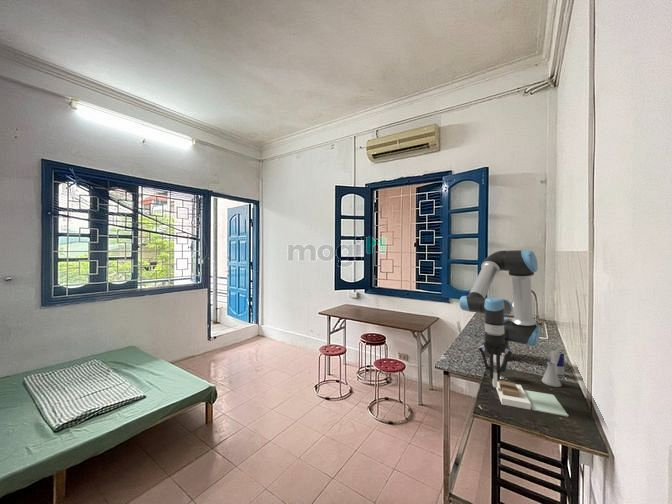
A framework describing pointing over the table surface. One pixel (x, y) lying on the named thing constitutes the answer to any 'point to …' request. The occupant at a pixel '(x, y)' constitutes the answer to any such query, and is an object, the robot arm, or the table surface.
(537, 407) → the mat
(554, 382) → the flask
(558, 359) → the energy drink
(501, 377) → the wineglass
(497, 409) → the table surface
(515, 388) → the walnut tile
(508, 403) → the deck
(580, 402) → the table surface
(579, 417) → the table surface
